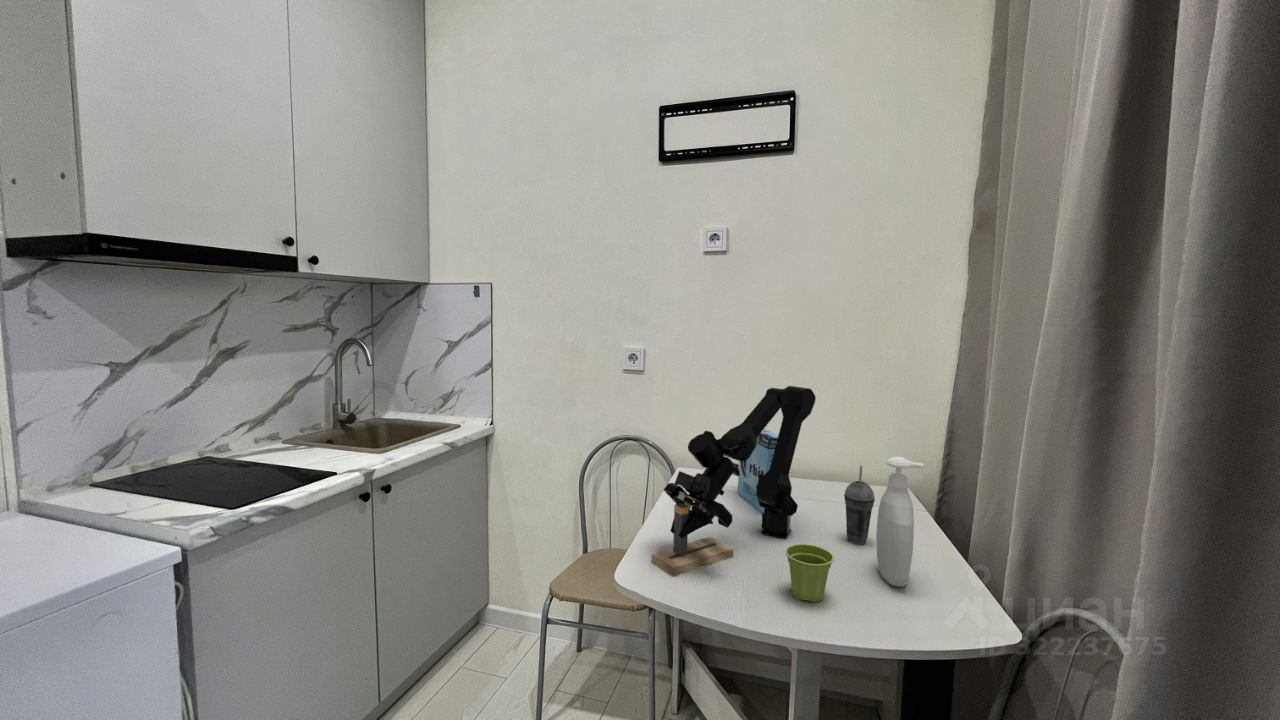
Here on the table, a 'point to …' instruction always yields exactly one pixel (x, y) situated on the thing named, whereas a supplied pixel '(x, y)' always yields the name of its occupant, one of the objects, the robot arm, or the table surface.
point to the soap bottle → (896, 526)
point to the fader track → (692, 556)
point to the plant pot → (809, 570)
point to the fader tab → (679, 521)
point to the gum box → (756, 467)
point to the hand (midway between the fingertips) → (675, 534)
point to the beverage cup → (858, 510)
